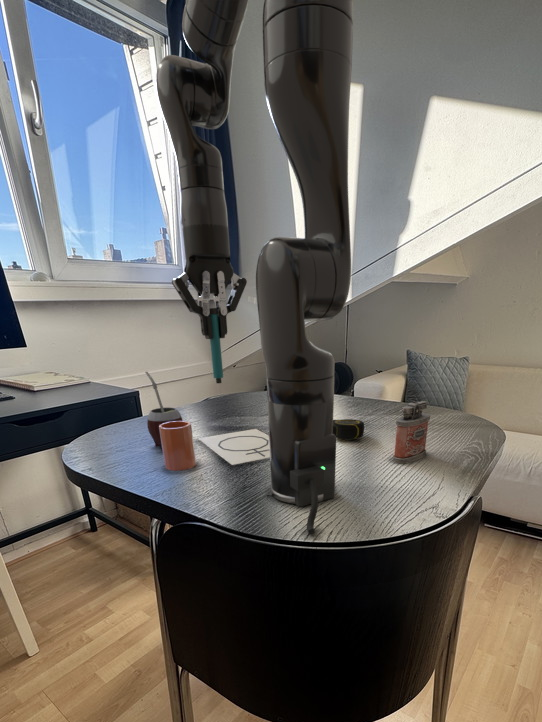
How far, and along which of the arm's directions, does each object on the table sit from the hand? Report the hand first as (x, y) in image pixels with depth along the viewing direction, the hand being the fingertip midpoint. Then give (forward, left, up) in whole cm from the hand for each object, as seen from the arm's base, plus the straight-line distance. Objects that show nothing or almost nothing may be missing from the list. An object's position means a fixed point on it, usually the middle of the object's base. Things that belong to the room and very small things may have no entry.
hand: (215, 338), depth 75 cm
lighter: (-24, -27, -21) cm, 42 cm away
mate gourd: (+8, +10, -21) cm, 25 cm away
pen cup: (-6, +11, -21) cm, 25 cm away
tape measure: (-7, -25, -21) cm, 34 cm away
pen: (0, 0, -8) cm, 8 cm away
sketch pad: (-1, -4, -21) cm, 22 cm away
